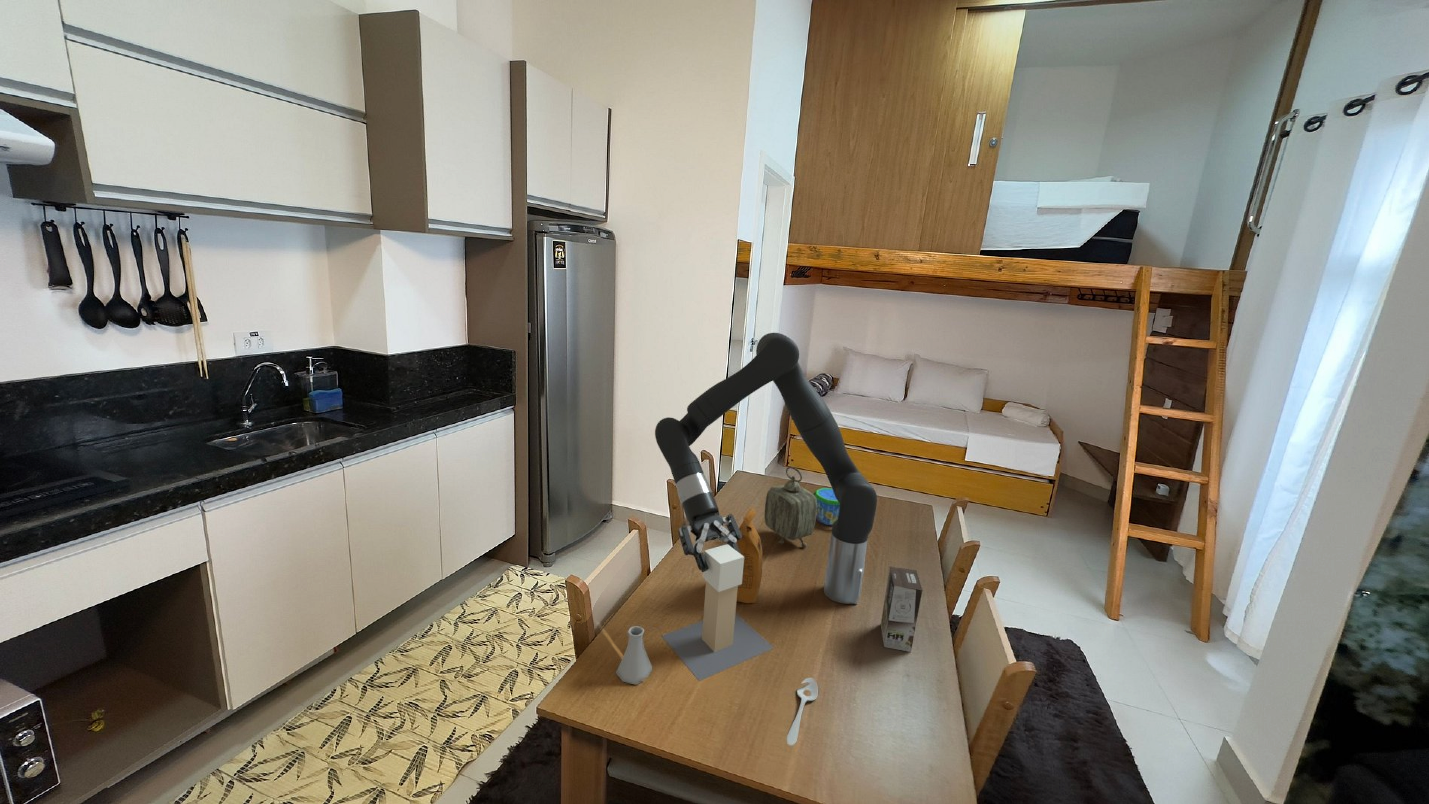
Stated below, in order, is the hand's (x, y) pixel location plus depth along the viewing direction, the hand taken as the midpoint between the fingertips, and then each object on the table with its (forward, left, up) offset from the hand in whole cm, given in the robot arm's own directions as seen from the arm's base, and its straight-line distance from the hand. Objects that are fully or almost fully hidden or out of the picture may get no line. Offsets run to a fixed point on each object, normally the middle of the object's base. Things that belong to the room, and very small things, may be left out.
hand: (721, 565), depth 121 cm
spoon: (-22, +12, -20) cm, 33 cm away
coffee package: (+2, -22, -20) cm, 30 cm away
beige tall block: (0, 0, -19) cm, 19 cm away
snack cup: (-10, -76, -20) cm, 79 cm away
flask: (+12, +16, -20) cm, 28 cm away
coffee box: (-37, -22, -20) cm, 48 cm away
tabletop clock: (-1, -54, -20) cm, 57 cm away
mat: (0, 0, -20) cm, 20 cm away
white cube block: (0, 0, -3) cm, 3 cm away
